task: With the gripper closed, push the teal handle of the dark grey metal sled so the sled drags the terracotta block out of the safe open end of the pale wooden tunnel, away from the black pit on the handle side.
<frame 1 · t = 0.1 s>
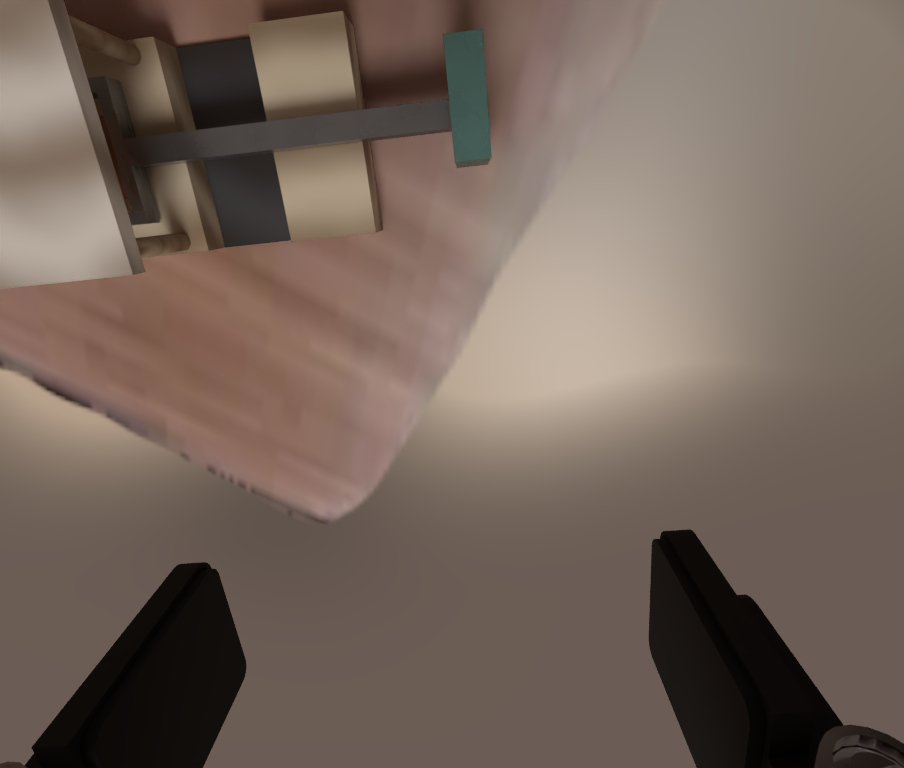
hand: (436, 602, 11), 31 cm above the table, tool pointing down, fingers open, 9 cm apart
sled: (224, 137, 31), point 6 cm above the table, slide at 0.0 cm
tunnel: (111, 165, 37), on the table
block: (82, 162, 35), point 3 cm above the table, touching tunnel
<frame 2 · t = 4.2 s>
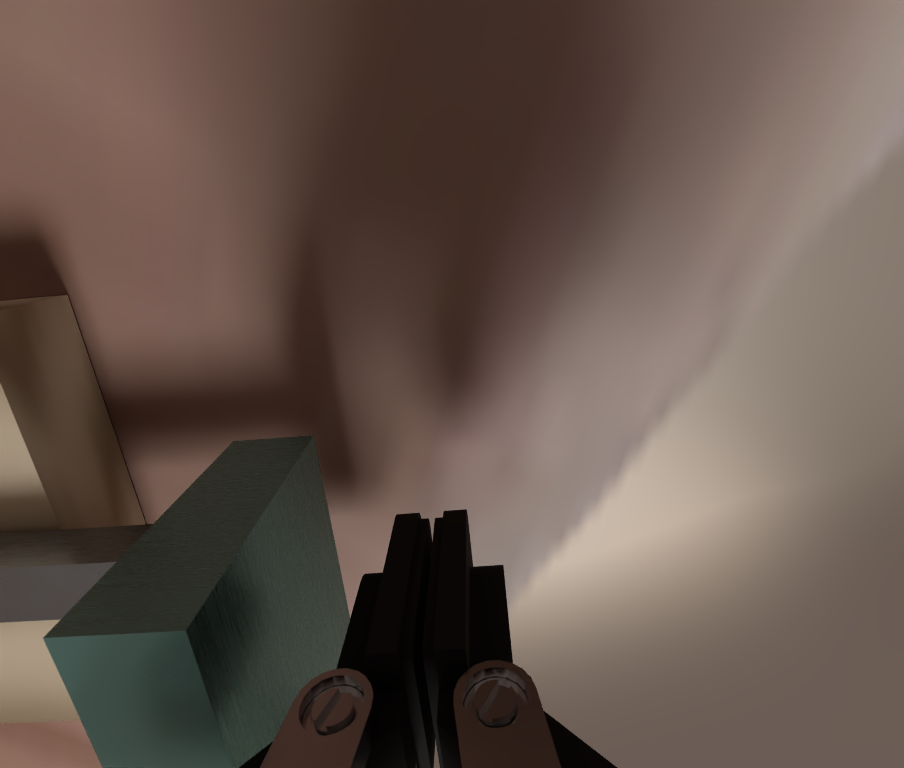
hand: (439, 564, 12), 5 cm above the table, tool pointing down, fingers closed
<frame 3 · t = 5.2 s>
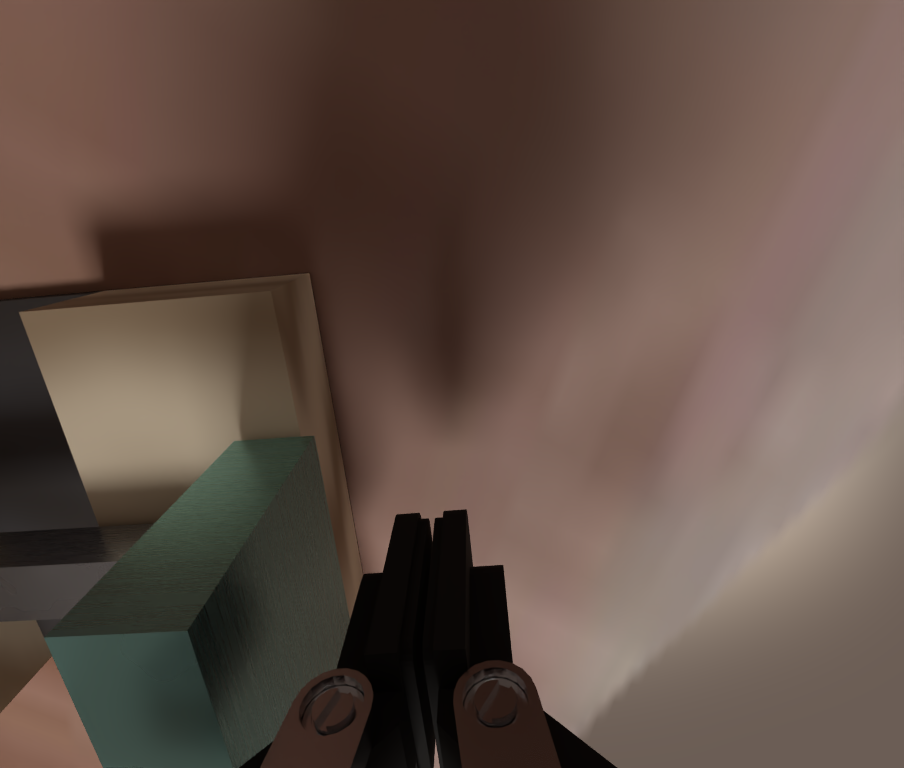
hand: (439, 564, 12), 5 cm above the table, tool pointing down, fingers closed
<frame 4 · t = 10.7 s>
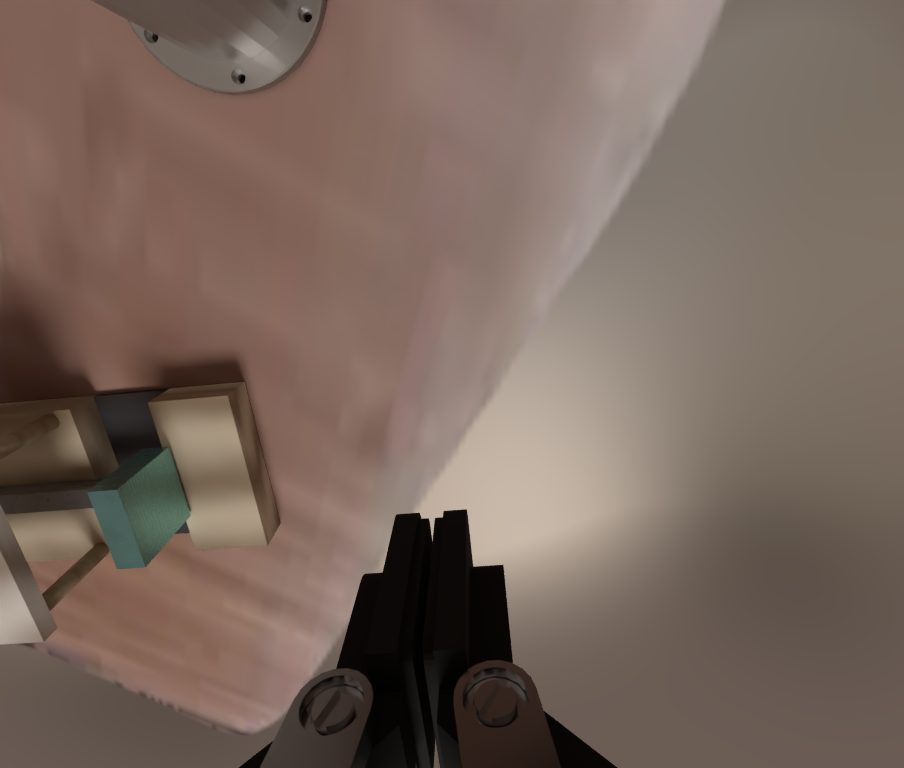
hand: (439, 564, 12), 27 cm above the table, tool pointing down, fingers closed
tunnel: (43, 473, 43), on the table
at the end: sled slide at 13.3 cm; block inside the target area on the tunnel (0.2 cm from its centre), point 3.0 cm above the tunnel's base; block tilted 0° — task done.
